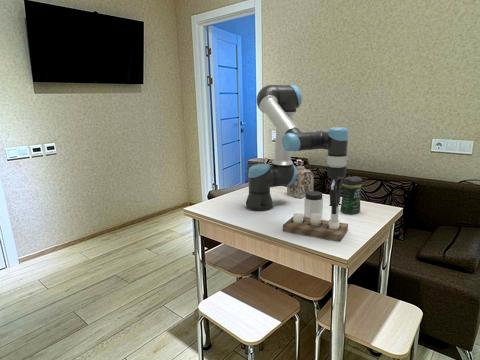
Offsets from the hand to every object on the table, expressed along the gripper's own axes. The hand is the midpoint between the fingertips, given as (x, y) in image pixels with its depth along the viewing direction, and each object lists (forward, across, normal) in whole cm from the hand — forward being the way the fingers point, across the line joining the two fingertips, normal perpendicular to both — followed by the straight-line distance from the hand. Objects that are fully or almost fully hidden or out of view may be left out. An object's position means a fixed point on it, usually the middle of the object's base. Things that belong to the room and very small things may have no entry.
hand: (334, 220), depth 135 cm
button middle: (+4, 0, +8) cm, 9 cm away
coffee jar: (+6, +33, 0) cm, 34 cm away
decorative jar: (+6, +52, +34) cm, 62 cm away
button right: (+5, 0, 0) cm, 5 cm away
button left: (+5, 0, +16) cm, 17 cm away
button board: (+6, 0, +8) cm, 10 cm away
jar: (+6, +18, +15) cm, 24 cm away
